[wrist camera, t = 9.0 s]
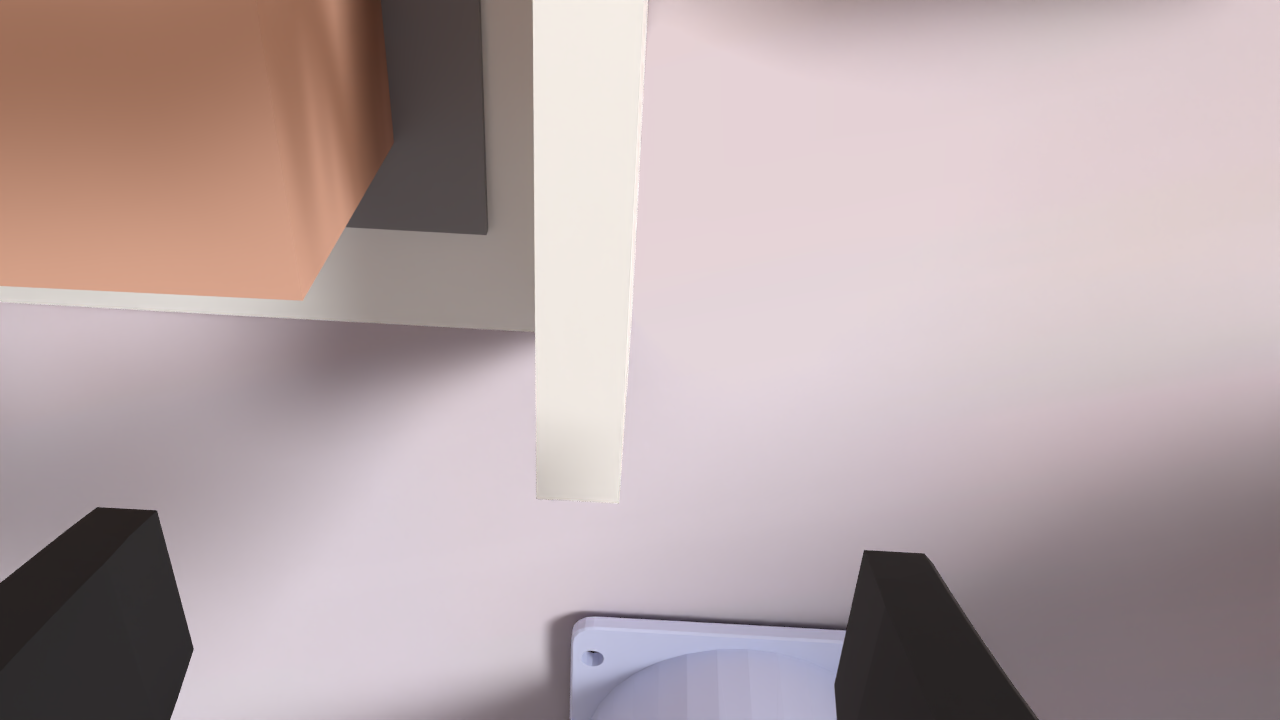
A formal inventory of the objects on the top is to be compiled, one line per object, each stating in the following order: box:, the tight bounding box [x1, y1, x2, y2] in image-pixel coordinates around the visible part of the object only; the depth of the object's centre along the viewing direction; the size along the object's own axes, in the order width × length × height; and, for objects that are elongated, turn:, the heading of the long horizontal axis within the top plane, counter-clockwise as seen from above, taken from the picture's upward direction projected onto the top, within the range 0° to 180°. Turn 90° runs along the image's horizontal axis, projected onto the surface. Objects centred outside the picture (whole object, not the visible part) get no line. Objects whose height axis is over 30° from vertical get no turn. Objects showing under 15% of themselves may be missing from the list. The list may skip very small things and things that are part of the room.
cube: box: [0, 0, 394, 301], centre depth 14 cm, size 5×5×5 cm
